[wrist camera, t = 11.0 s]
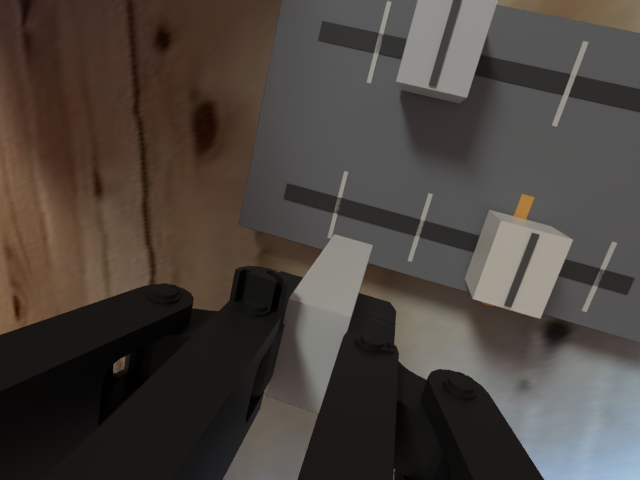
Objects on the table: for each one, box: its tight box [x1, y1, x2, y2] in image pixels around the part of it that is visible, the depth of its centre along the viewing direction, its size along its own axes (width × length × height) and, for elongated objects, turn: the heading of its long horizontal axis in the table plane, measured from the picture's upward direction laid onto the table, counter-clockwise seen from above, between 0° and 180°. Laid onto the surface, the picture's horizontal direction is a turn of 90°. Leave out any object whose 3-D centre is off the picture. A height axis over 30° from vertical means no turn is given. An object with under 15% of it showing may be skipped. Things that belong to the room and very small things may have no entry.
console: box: [239, 0, 640, 342], centre depth 30 cm, size 30×18×3 cm, turn 76°
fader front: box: [396, 0, 498, 103], centre depth 25 cm, size 4×5×4 cm
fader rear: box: [465, 210, 573, 319], centre depth 27 cm, size 4×5×4 cm
